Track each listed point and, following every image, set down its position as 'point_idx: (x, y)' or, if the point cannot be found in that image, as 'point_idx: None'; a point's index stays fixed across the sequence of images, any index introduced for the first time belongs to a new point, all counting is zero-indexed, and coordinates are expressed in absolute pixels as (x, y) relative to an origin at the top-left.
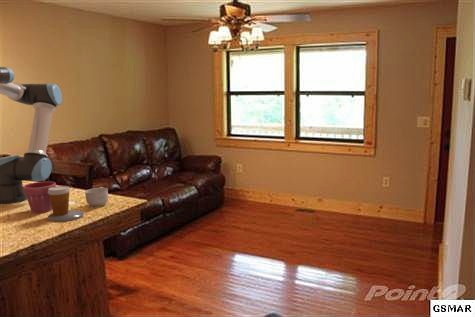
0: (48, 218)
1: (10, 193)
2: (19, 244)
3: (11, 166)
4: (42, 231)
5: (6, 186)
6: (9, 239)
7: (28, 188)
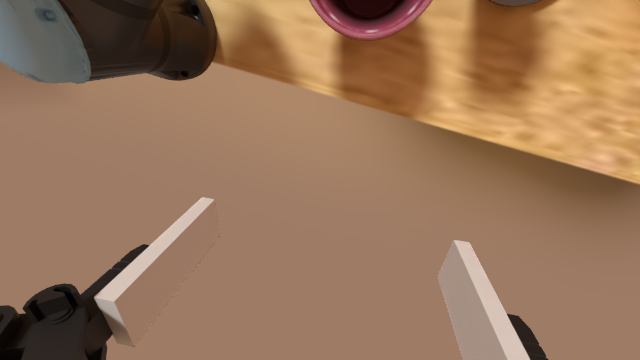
0: (511, 5)
1: (193, 40)
2: (634, 147)
3: (109, 20)
4: (602, 66)
5: (170, 50)
6: (567, 151)
7: (403, 28)
